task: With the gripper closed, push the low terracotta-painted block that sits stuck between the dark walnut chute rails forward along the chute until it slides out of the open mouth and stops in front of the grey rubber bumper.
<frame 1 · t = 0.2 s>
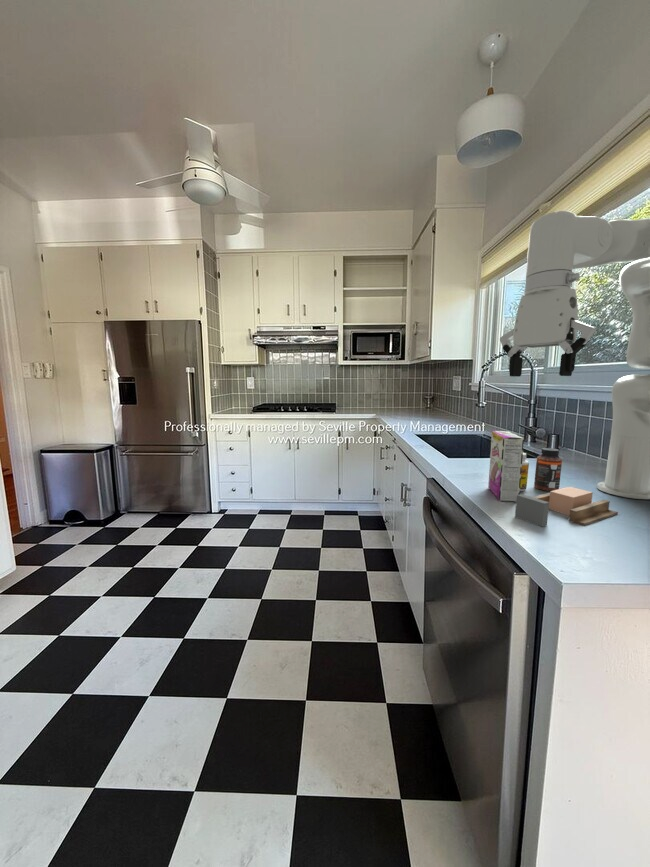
hand: (538, 376, 69), 31 cm above the countertop, fingers open, 9 cm apart
candy bar box: (502, 495, 92), on the countertop
chute: (568, 509, 82), on the countertop
supplement bottle: (515, 489, 97), on the countertop
block: (569, 510, 82), on the countertop
bumper: (530, 520, 75), on the countertop
supplement bottle 2: (546, 489, 98), on the countertop
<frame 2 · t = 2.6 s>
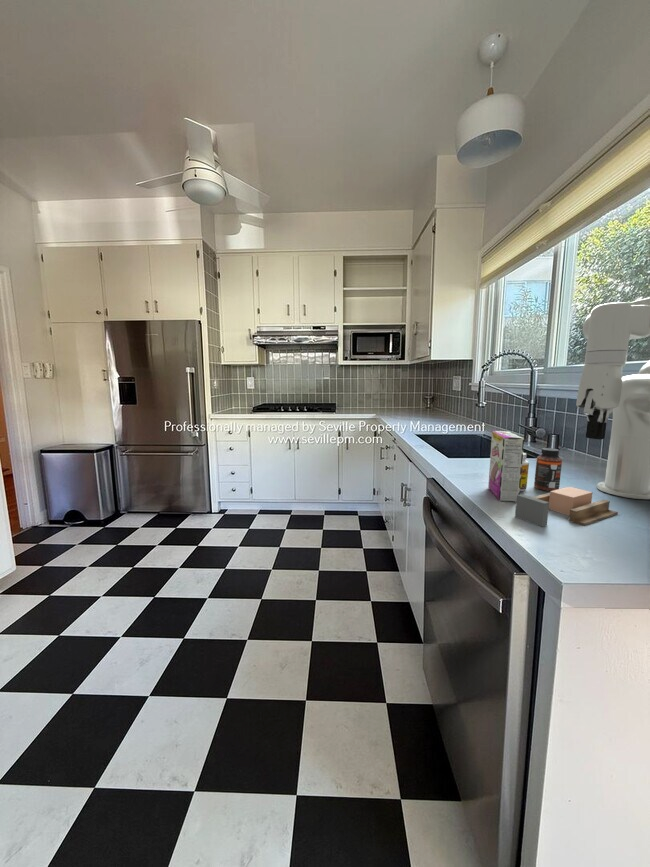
hand: (594, 438, 83), 16 cm above the countertop, fingers closed
nothing on the countertop moved.
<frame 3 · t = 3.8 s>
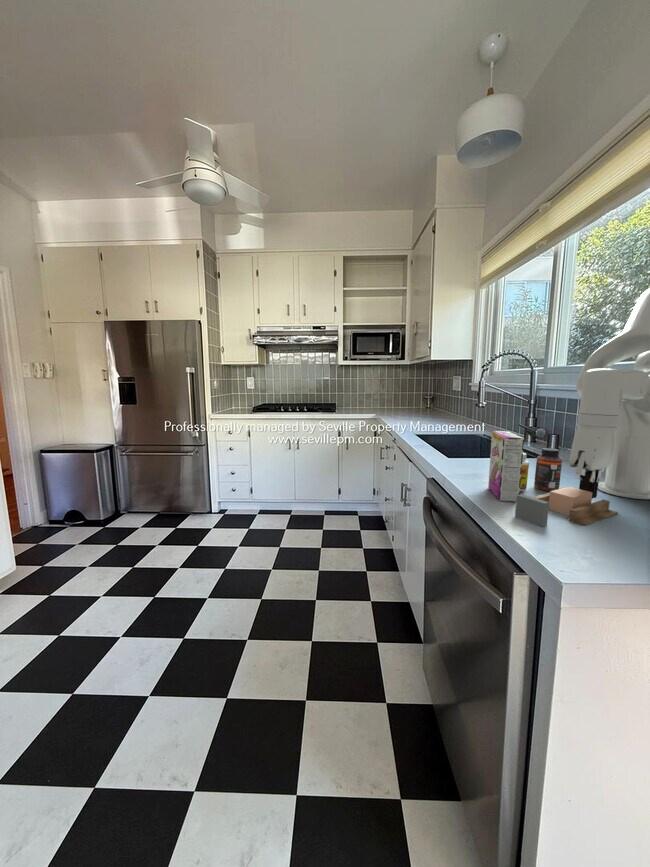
hand: (587, 496, 85), 2 cm above the countertop, fingers closed
nothing on the countertop moved.
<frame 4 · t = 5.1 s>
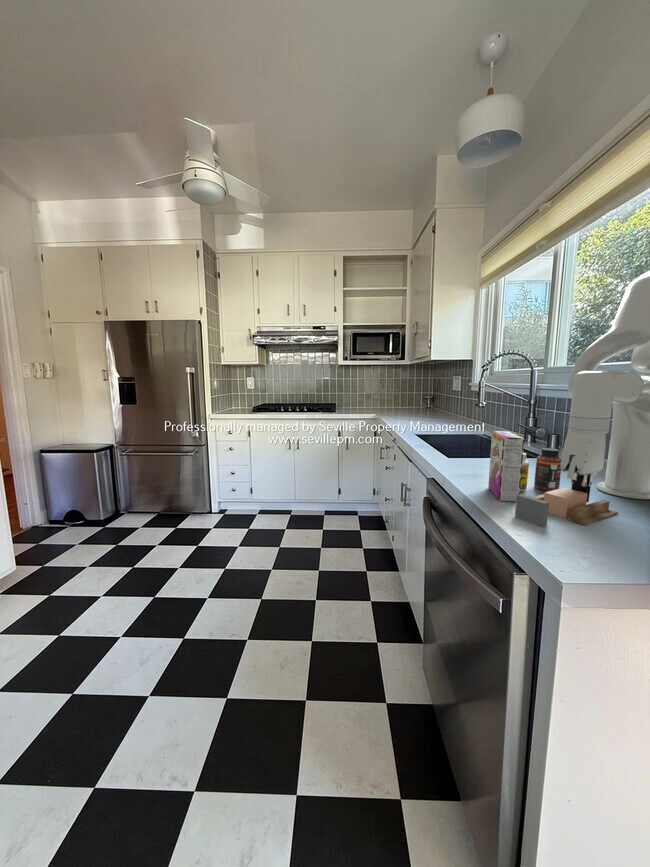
hand: (579, 500, 83), 1 cm above the countertop, fingers closed
block: (563, 511, 81), on the countertop
everything else where it was.
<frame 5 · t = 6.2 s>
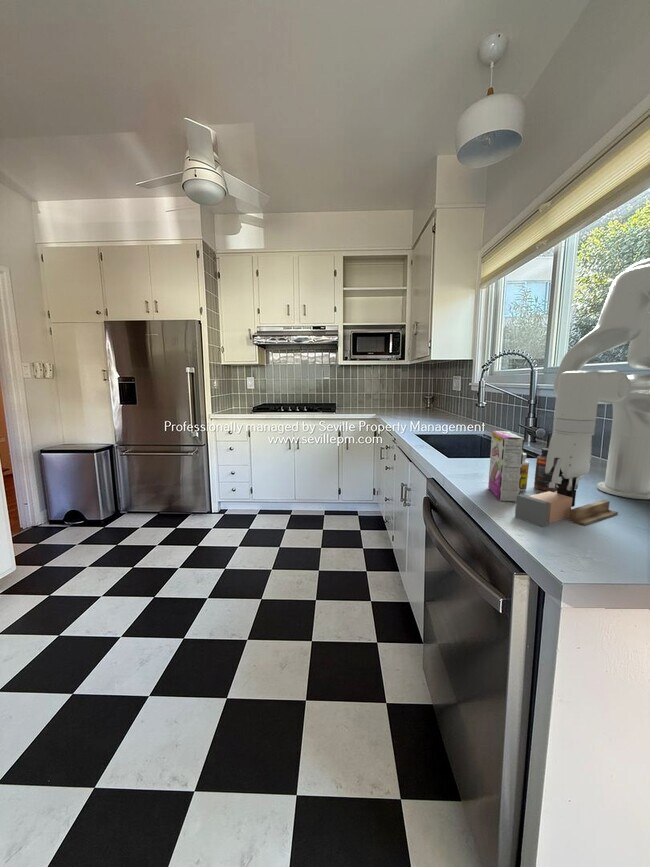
hand: (564, 505, 81), 1 cm above the countertop, fingers closed
block: (548, 516, 78), on the countertop, touching gripper
everything else where it was.
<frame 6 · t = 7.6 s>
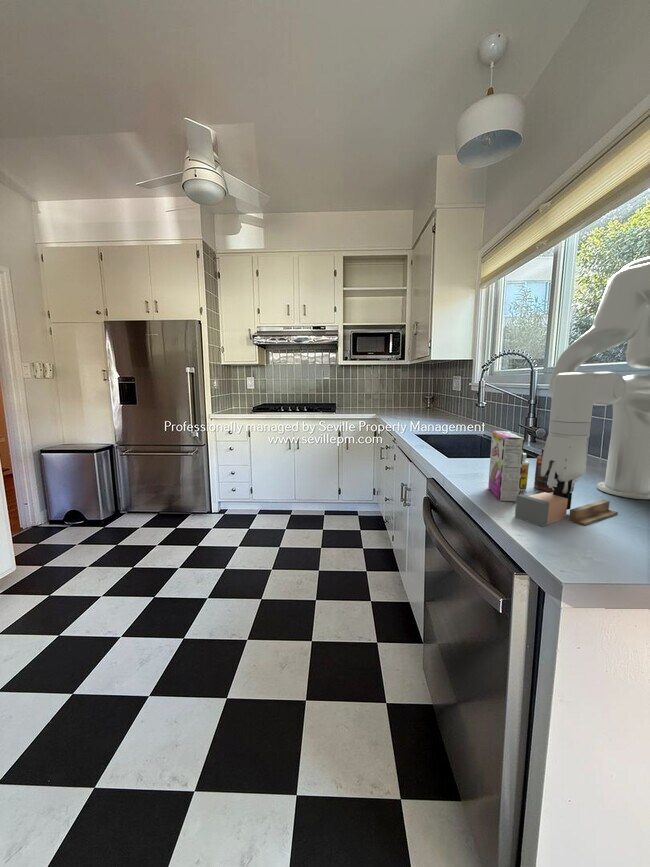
hand: (560, 507, 80), 1 cm above the countertop, fingers closed
block: (543, 517, 77), on the countertop
everything else where it was.
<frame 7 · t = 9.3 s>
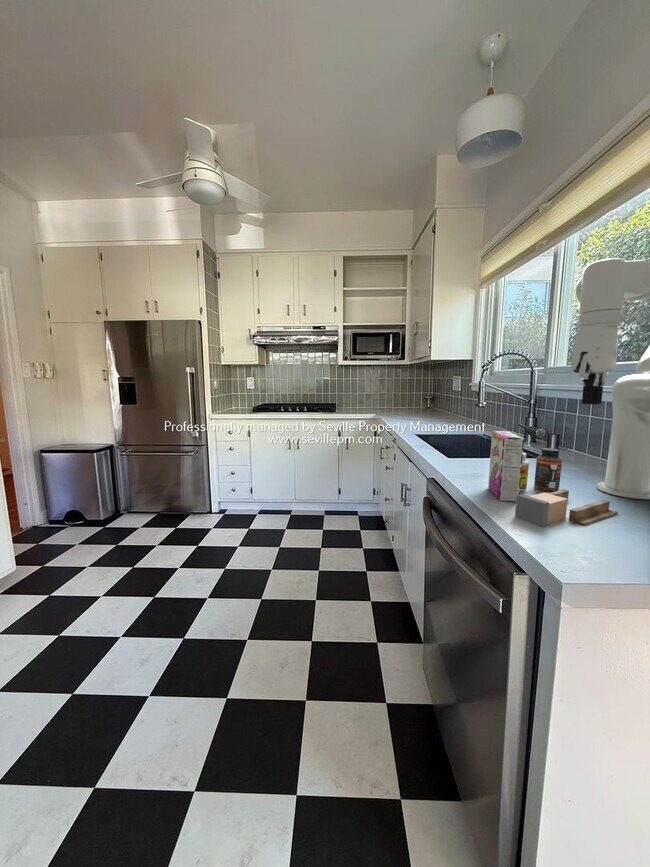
hand: (591, 403, 80), 25 cm above the countertop, fingers closed
nothing on the countertop moved.
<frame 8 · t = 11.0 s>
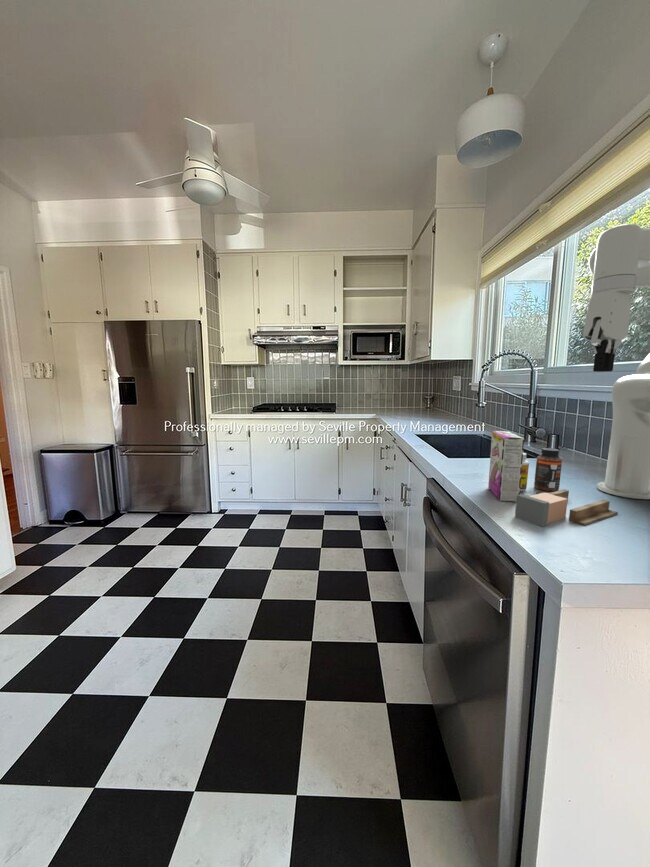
hand: (602, 371, 80), 32 cm above the countertop, fingers closed
nothing on the countertop moved.
at the end: block inside the target area (1.1 cm from its centre), on the countertop; block tilted 0°; block moved 10.2 cm from its start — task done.
